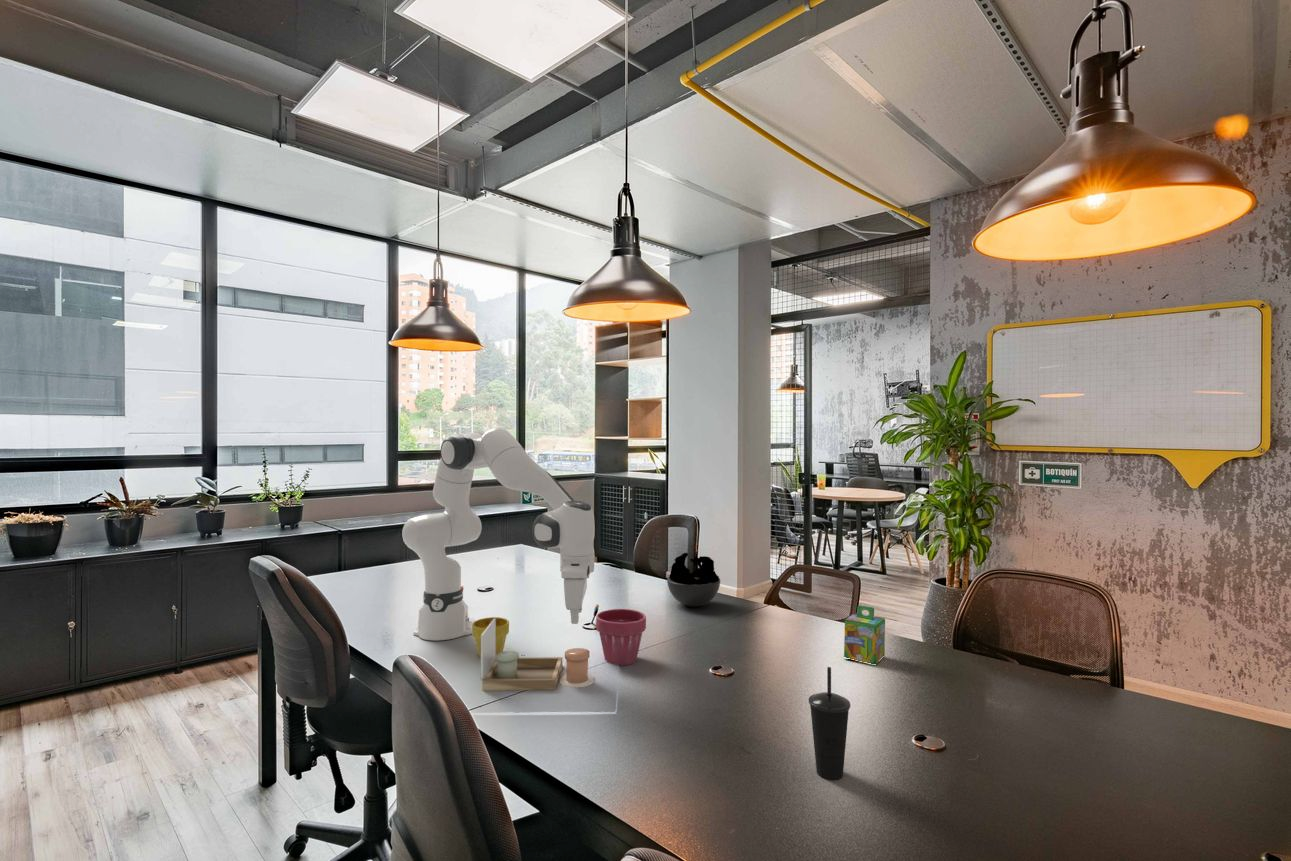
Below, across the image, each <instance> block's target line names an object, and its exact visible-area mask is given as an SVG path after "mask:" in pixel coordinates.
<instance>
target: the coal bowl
mask: <svg viewBox="0 0 1291 861" xmlns="http://www.w3.org/2000/svg"><path fill="white" fill-rule="evenodd" d="M688 556H689V553H688V552H684V553H682V554H680V555H679V556H677V557H675V558H674V562H673V563H672V565H671V567H670V568H671V569H670V573H669V576H668V577H667V578H666V583H667V586H668V590H669V592H670V593H671V595H672V596H673V598H674V599H675V600H676V601H677V602H679V603H680V604H682V605H685V606H686V607H702V606H704V605H706V604H708V603H709V602H711V601H712V600H713V599H714V598H715V597H716V596H717V594H718V592H719V589H720V586H721V578H720V576H719V575H717V573H716V571H715V561H714V559H713V558H711V557H710V556H706V555H704V556H702V555H701V556H698V557H697V556H695V557H694V558H690V559H689V561H690V562H692V563H693V564H694V565H697V568H696V570H694V571H693V572H690V569H689V568H688V567H687V566H686V559H687V557H688Z"/></svg>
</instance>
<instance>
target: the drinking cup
mask: <svg viewBox="0 0 1291 861" xmlns="http://www.w3.org/2000/svg"><path fill="white" fill-rule="evenodd" d="M826 669H827V671H826V673H827V674H826V675H827V677H826V679H827V682H826V685H827V690H826V691H827V692H826V691H824V692H819V693H818V692H817V693H815V694H814V693H813V694H811V695H810V696H809V697H808V704H809V707H810V716H811V726H812V727H811V728H812V735H813V736H812V737H813V738H812V739H813V748H814V749H813V750H814V758H815V768H816V774H817V775H818V776H819V777H820V778H823V779H826V780H830V781H837V780H841V779H842V778H843V776H844V769H845V753H846V746H847V745H846V744H847V732H848V721H849V710H850V709H851V701H849V700H848V699H847V698H846V697H844V696H842V695H839V694H837V693H834V692H832V667H830V666H828V667H827V668H826Z"/></svg>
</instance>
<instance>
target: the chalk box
mask: <svg viewBox="0 0 1291 861" xmlns="http://www.w3.org/2000/svg"><path fill="white" fill-rule="evenodd" d="M864 611H867V612H868V614H866V613H863V612H864ZM885 638H886V619H885V618H884V617H880V616H875V607H872V606H867V605H857V610H856V612H854V613H852V614H851V615H849V616H848V617H846V618H845V619H844V639H843V640H844V642H843V644H844V646H843V658H844V657H846V658H850V659H854V660H858V661H862V662H867V663H871V664H877V663H878V662H879V660H880V659H881V658H882V657H883V656H884V657H885V653H886V652H885V651H886V649H885V647H886V646H885V645H886V643H885V642H886V639H885ZM879 663H880V662H879ZM879 663H878V664H879ZM878 664H877V665H878Z"/></svg>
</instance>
